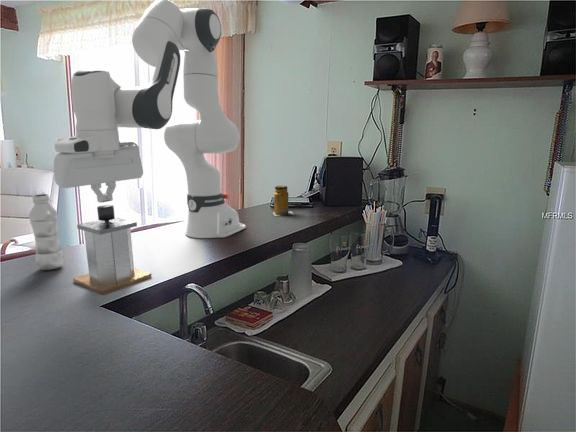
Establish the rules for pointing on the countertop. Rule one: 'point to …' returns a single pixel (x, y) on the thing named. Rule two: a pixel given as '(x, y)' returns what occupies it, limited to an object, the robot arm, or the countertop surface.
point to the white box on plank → (109, 256)
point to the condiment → (281, 201)
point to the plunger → (106, 213)
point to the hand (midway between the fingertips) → (105, 201)
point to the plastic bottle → (46, 233)
